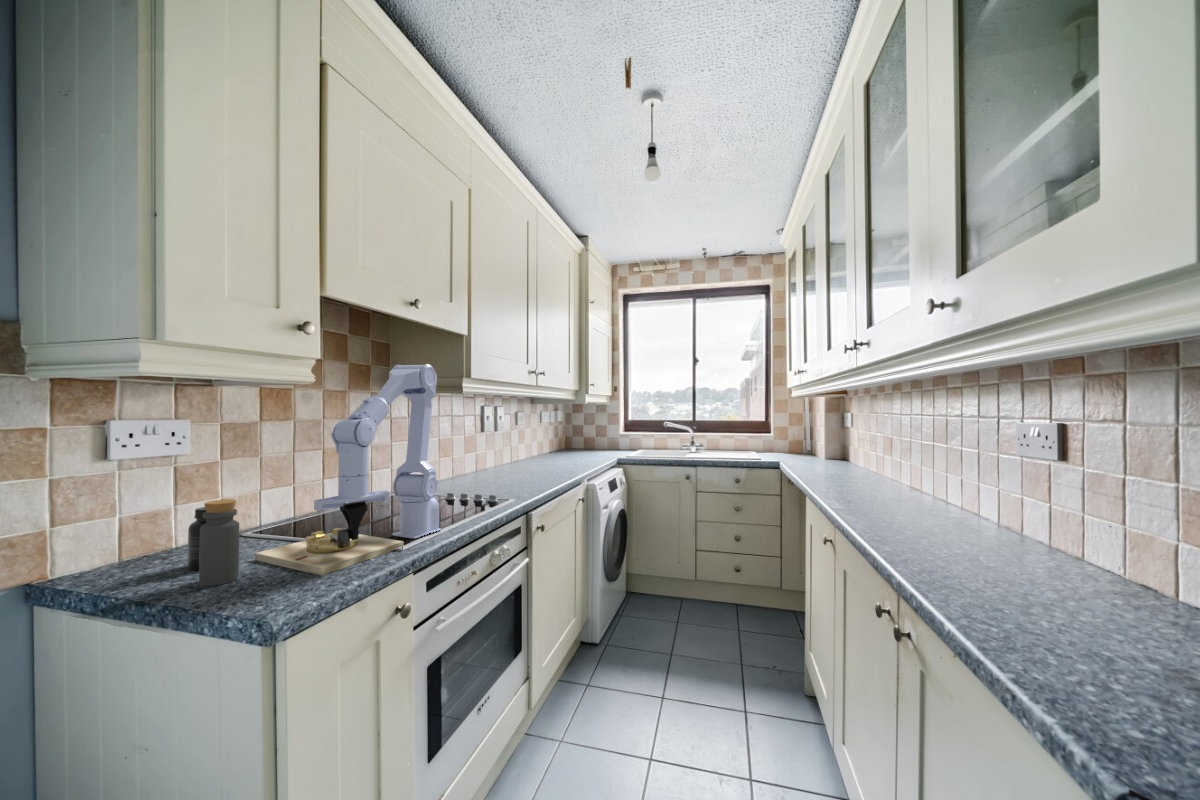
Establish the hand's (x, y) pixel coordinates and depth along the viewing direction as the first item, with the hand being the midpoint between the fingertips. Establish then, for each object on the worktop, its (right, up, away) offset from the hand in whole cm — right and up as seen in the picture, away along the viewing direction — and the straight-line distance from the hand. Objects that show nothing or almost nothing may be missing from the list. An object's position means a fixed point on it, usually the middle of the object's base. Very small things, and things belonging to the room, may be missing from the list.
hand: (353, 538), depth 100 cm
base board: (-7, -5, +5) cm, 10 cm away
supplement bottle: (-29, -5, -3) cm, 29 cm away
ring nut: (-6, -3, +3) cm, 7 cm away
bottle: (-20, -5, -11) cm, 23 cm away
